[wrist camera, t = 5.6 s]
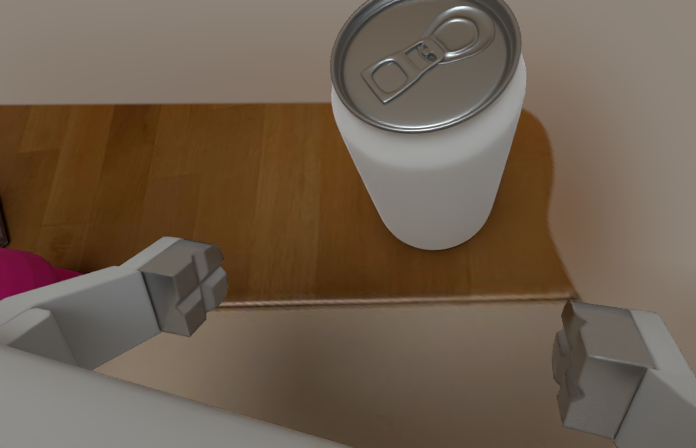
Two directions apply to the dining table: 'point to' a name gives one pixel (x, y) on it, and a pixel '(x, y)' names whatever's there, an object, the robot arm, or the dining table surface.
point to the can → (429, 110)
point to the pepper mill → (27, 272)
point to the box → (2, 233)
